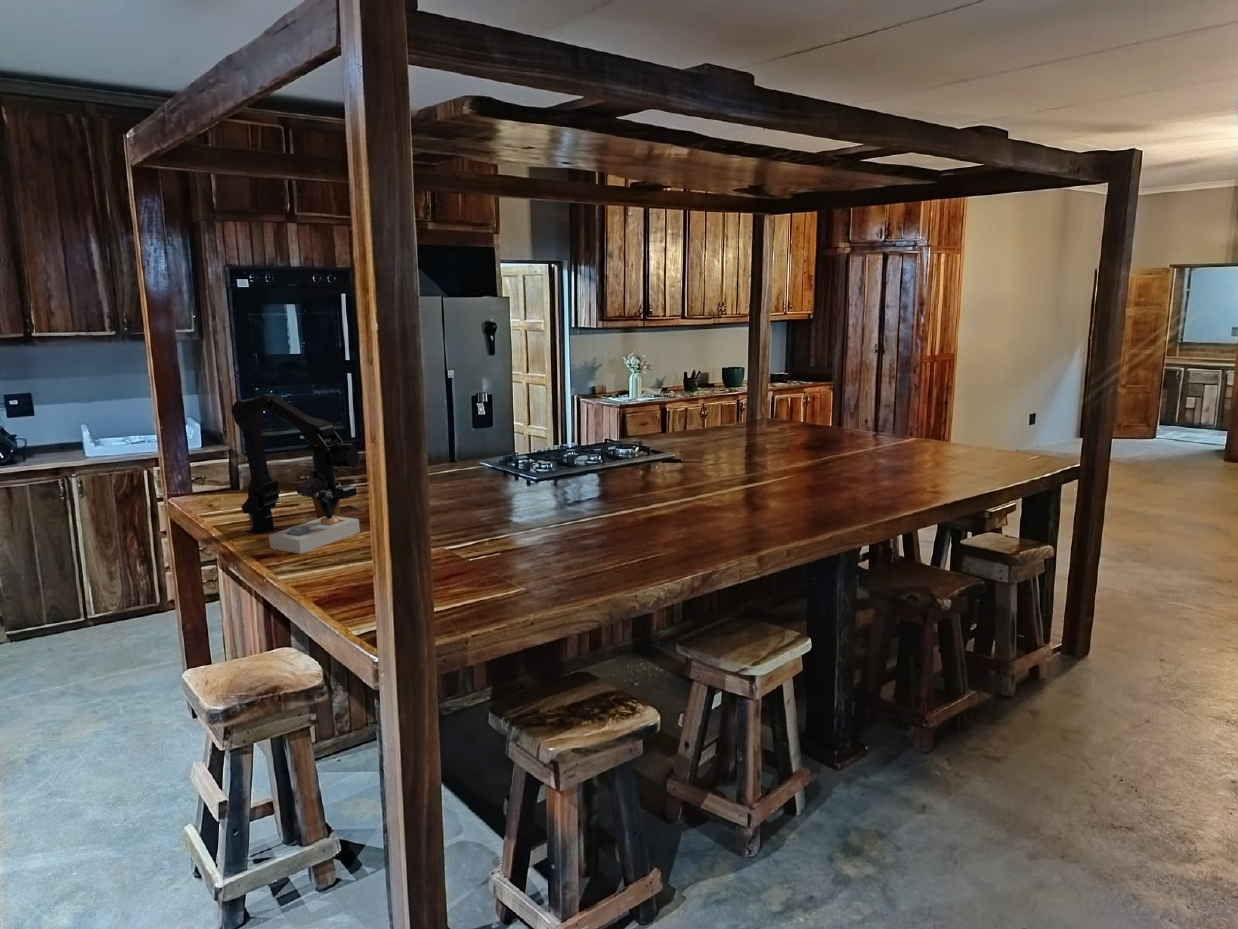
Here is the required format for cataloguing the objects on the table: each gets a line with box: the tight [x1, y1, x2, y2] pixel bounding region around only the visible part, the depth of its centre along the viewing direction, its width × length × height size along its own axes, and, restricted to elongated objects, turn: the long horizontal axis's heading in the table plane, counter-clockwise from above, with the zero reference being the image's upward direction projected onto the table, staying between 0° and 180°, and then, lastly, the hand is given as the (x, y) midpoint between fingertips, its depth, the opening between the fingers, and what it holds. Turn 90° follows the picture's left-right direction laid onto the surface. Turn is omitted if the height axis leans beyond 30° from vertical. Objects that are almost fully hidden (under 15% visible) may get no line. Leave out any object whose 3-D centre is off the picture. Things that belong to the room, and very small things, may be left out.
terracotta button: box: [320, 516, 339, 526], centre depth 245 cm, size 5×5×3 cm
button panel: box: [268, 516, 361, 555], centre depth 241 cm, size 12×22×4 cm, turn 152°
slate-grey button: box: [290, 526, 309, 536], centre depth 235 cm, size 5×5×3 cm
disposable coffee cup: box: [311, 480, 342, 519], centre depth 259 cm, size 10×10×12 cm
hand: (329, 518), depth 245 cm, fingers closed
